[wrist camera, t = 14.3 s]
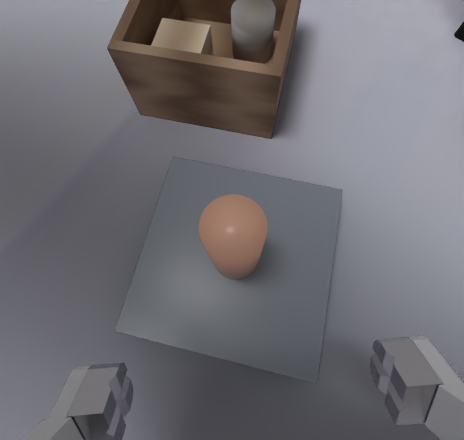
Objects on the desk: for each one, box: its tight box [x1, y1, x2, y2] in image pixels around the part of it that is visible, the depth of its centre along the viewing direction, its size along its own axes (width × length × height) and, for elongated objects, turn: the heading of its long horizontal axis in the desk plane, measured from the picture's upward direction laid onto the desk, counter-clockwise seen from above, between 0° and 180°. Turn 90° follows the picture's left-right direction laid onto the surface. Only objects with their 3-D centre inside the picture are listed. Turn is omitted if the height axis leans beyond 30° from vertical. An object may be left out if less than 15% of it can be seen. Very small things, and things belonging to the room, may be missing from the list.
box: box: [107, 0, 301, 138], centre depth 25 cm, size 12×12×7 cm
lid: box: [115, 157, 342, 384], centre depth 18 cm, size 13×13×10 cm
